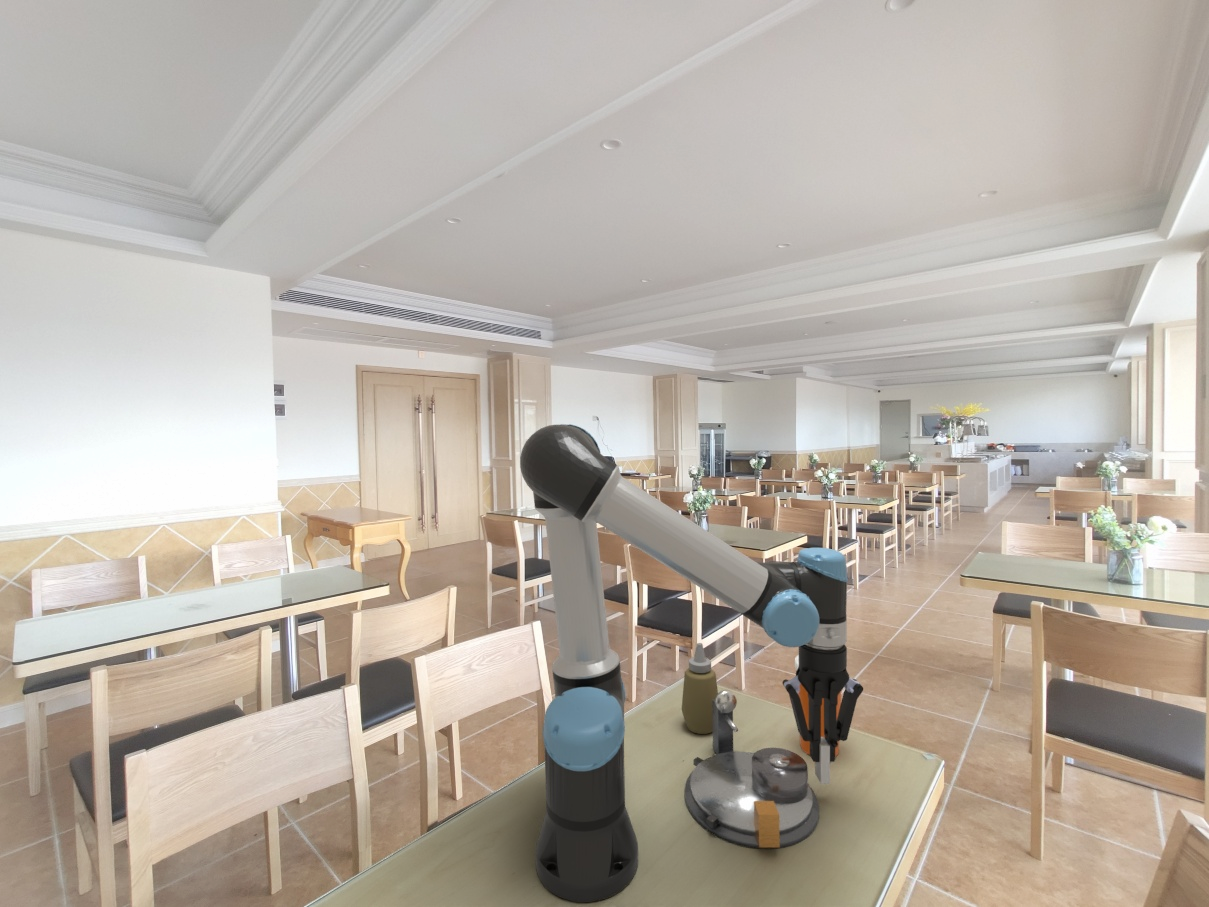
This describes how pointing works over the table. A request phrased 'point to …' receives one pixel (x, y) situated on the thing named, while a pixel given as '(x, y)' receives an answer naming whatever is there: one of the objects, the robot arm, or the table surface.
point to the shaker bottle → (805, 705)
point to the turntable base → (751, 840)
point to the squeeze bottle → (699, 693)
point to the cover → (779, 775)
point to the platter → (743, 799)
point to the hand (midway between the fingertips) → (822, 778)
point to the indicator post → (723, 721)
